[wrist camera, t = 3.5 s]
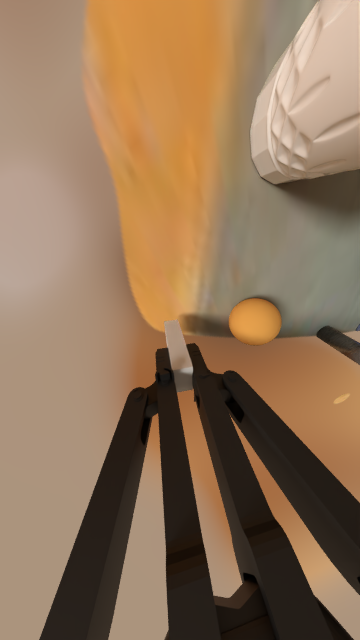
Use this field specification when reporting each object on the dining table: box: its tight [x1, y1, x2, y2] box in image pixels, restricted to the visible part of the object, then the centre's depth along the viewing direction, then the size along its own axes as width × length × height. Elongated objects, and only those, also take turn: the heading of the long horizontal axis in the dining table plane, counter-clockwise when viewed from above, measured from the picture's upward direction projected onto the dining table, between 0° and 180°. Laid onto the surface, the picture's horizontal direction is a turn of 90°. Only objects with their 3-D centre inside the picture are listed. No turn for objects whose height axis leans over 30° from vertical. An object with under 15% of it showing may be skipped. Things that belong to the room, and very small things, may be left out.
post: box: [317, 326, 360, 365], centre depth 21 cm, size 2×2×9 cm
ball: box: [229, 298, 282, 345], centre depth 18 cm, size 6×6×6 cm
